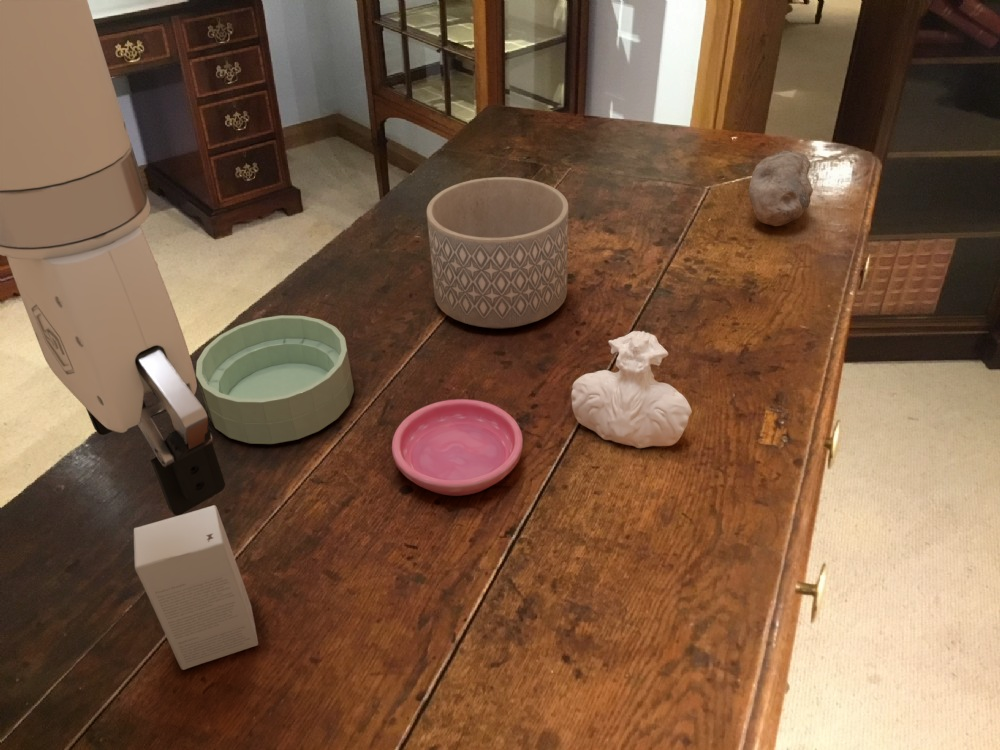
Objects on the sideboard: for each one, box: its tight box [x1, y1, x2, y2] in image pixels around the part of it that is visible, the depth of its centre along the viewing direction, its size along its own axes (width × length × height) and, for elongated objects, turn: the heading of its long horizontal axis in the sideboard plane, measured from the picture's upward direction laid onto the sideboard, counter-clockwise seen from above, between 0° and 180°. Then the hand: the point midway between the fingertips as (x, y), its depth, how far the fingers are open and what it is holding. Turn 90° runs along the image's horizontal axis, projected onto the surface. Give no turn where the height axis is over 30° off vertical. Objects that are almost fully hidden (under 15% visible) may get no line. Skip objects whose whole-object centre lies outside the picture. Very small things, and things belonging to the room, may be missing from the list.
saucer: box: [391, 398, 524, 497], centre depth 82 cm, size 12×12×3 cm
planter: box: [426, 176, 569, 330], centre depth 102 cm, size 16×16×13 cm
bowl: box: [195, 314, 355, 445], centre depth 90 cm, size 15×15×6 cm
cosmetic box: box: [133, 504, 259, 671], centre depth 64 cm, size 6×4×12 cm
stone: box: [747, 150, 814, 227], centre depth 119 cm, size 9×14×10 cm, turn 150°
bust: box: [570, 330, 693, 449], centre depth 84 cm, size 12×8×11 cm
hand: (158, 459), depth 51 cm, fingers open, 9 cm apart
